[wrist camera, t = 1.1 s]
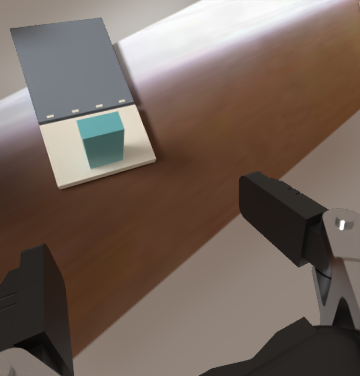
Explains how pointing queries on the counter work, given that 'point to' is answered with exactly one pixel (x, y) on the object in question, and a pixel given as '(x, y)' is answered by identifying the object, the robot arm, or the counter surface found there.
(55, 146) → the teal block on base
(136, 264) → the counter surface
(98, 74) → the board
